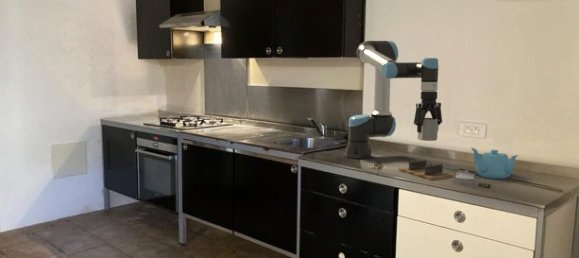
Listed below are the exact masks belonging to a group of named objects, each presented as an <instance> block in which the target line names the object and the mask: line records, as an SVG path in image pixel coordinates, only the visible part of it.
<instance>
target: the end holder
mask: <svg viewBox="0 0 579 258" xmlns="http://www.w3.org/2000/svg"><path fill="white" fill-rule="evenodd" d="M443 166H444V165H443V164H442V163H439V164H432V165H427V160H426V159H422V160H413V161H409V162H408V167H407V166H406V167H401V168H400V167H399V168H398V172H400V173H404V174H406V175H407V174H408V175H412V176H415V177H418V178H422V179H424V180H427V181H435V180H442V179H443V180H444V179H449V178H454V174H453V173H449V172H446V171H443V170H444V169H443V168H444V167H443Z"/></svg>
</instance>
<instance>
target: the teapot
mask: <svg viewBox="0 0 579 258" xmlns="http://www.w3.org/2000/svg"><path fill="white" fill-rule="evenodd" d="M470 149H471V150H472V151H473V163H474V164H475V169H474V170H475V172H476V174H477V175H478V176H479V177H482V178H485V179H492V180H493V179H494V180H497V179H498V180H503V179H504V180H505V179H508V178H509V177H510V176H511V175H512V174H513V171H514V170H515V166H516V163H515V161H516V158H517V157H518V156H519V154H517V155H511V157H510V159H509V156H508V155H507V153H501V152H499V150H498V149H490V152H484V153H483V154H481V153H479V151H478V150H477V149H476V148H474V147H470Z"/></svg>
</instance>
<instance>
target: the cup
mask: <svg viewBox="0 0 579 258" xmlns="http://www.w3.org/2000/svg"><path fill="white" fill-rule="evenodd" d="M437 120H438V119H437V118H436V119H432V117H425V118H424V121H423V124H422V126H423V140H422V141H423V142H424V141H426V142H428V141H430V142H435V141H437V140H438V136H437ZM418 140H420V139H418ZM420 141H421V140H420Z"/></svg>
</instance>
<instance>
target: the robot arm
mask: <svg viewBox="0 0 579 258" xmlns="http://www.w3.org/2000/svg"><path fill="white" fill-rule="evenodd" d="M356 56H357V58H358V60H359V61H360V62H362V63H364V64H369V65H370V66H371V67H373V68H374V69H375V70H374V97H373V98H374V103H373V107H374V109H373V111H372V112H371V113H370V115H371V116H370V115H369V114H355V115H352V116H351V117H349V119H348V143H347V146H346V149H345V151H344V156H345V158H348V159H359V160H360V159H362V160H363V159H370V158H372V157H373V151H372V147H371V145H370V138H385V137H391V136H392V135H393V134H394V133H395V131H396V127H397V123H396V119H395V117H394V116H393V113H392V112H391V110H390V107H391V106H390V104H391V102H390V101H391V100H390V98H391V79H420V90H421V92H420V99H421V102H420V103H416V104H415V113H414V119H413V125H415V126H416V133H417V140H419V139H420V141H423V126H422V124H423V121H424V118H426V115H427V113H428V112H429V113H430V115H431V118H432V119H436V118H437V119H438V120H437V137H438V133H439V127H440V125H441V124H442V123H443V117H442V116H443V114H442V109H441V108H442V103H441V102H437V100H438V85H439V83H438V81H439V67H440V66H439V58H437V57H423V58H422V59H421V62H418V61H415V62H412V61H411V62H398V58H399V49H398V47H397V44H396V43H395V42H394V41H390V40H366V41H363V42H362V43H360V44H359V45H358V47H357V49H356Z"/></svg>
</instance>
